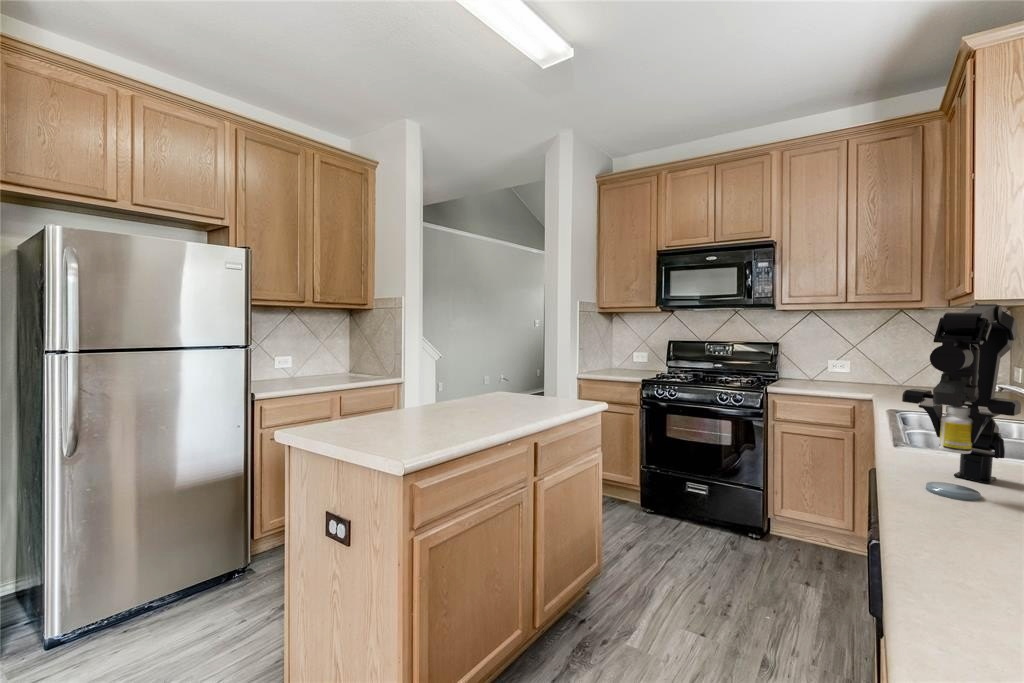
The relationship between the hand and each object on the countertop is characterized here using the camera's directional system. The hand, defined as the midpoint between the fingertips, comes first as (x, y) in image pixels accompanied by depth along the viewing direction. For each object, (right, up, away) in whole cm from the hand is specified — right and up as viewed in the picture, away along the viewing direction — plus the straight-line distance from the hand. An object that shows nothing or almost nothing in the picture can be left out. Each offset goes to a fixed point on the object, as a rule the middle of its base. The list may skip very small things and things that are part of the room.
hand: (955, 439), depth 109 cm
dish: (0, -12, +1) cm, 12 cm away
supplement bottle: (0, -3, 0) cm, 3 cm away
